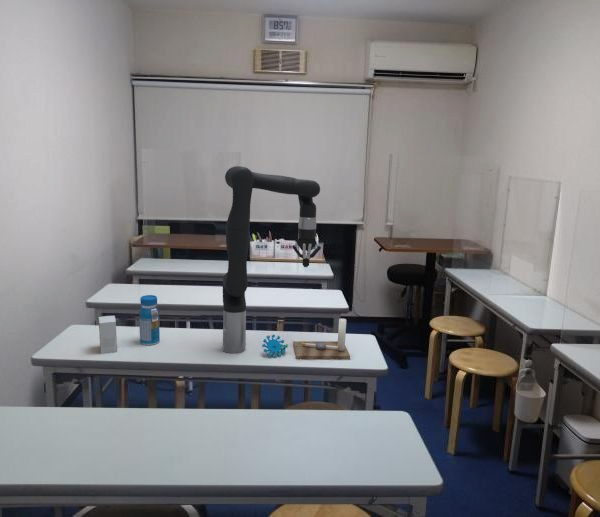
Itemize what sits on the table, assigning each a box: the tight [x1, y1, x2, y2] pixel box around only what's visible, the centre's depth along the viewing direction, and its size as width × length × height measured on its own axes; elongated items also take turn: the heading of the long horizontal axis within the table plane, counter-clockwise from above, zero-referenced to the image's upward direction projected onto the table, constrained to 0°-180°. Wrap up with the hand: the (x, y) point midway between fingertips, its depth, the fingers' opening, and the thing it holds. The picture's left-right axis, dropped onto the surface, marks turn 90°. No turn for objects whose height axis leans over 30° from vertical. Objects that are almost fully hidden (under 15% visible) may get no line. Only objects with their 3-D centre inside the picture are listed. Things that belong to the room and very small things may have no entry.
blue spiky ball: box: [261, 334, 289, 358], centre depth 210 cm, size 11×6×10 cm
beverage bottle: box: [138, 294, 161, 346], centre depth 215 cm, size 8×8×20 cm
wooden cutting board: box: [292, 340, 351, 361], centre depth 214 cm, size 22×16×2 cm
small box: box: [98, 315, 118, 354], centre depth 207 cm, size 8×6×13 cm
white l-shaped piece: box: [301, 318, 347, 351], centre depth 212 cm, size 18×4×13 cm, turn 79°
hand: (305, 266), depth 221 cm, fingers closed
